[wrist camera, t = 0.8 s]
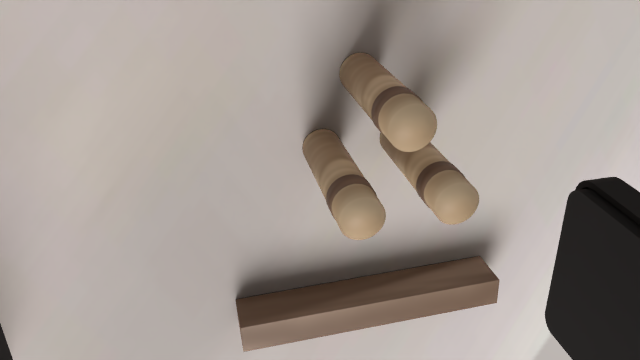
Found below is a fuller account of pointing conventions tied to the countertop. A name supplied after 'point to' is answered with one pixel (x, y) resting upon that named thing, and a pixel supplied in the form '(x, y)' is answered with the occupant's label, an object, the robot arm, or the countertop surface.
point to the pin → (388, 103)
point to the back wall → (364, 302)
